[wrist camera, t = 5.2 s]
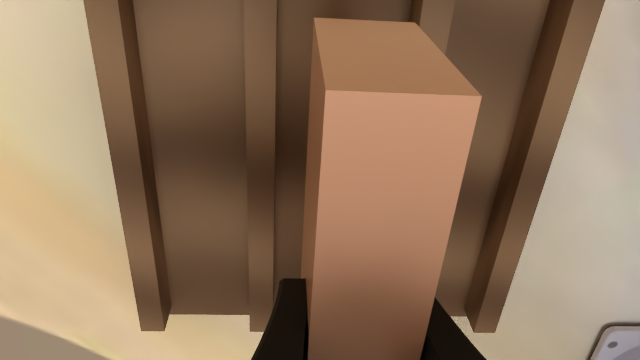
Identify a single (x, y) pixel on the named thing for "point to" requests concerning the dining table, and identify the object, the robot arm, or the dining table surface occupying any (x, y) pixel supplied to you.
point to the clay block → (379, 185)
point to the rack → (292, 137)
